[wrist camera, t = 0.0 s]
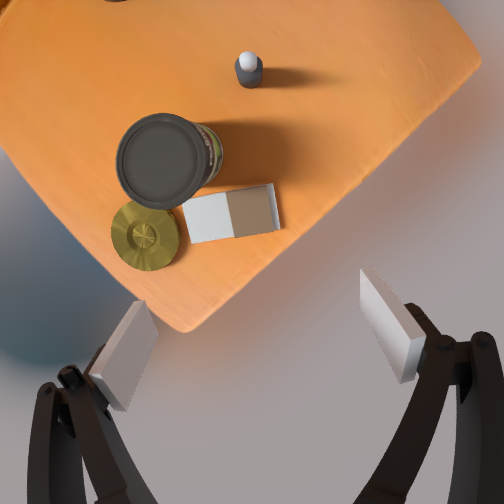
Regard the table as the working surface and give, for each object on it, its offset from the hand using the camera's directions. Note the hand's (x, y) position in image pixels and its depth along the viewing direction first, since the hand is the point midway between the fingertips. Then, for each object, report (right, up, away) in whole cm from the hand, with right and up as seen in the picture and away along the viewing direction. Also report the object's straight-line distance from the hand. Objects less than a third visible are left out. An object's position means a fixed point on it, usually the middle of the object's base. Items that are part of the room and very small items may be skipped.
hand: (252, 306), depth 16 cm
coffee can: (-9, +18, +23) cm, 31 cm away
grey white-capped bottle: (0, +28, +19) cm, 34 cm away
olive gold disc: (-17, +6, +28) cm, 34 cm away
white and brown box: (-3, +9, +27) cm, 28 cm away
